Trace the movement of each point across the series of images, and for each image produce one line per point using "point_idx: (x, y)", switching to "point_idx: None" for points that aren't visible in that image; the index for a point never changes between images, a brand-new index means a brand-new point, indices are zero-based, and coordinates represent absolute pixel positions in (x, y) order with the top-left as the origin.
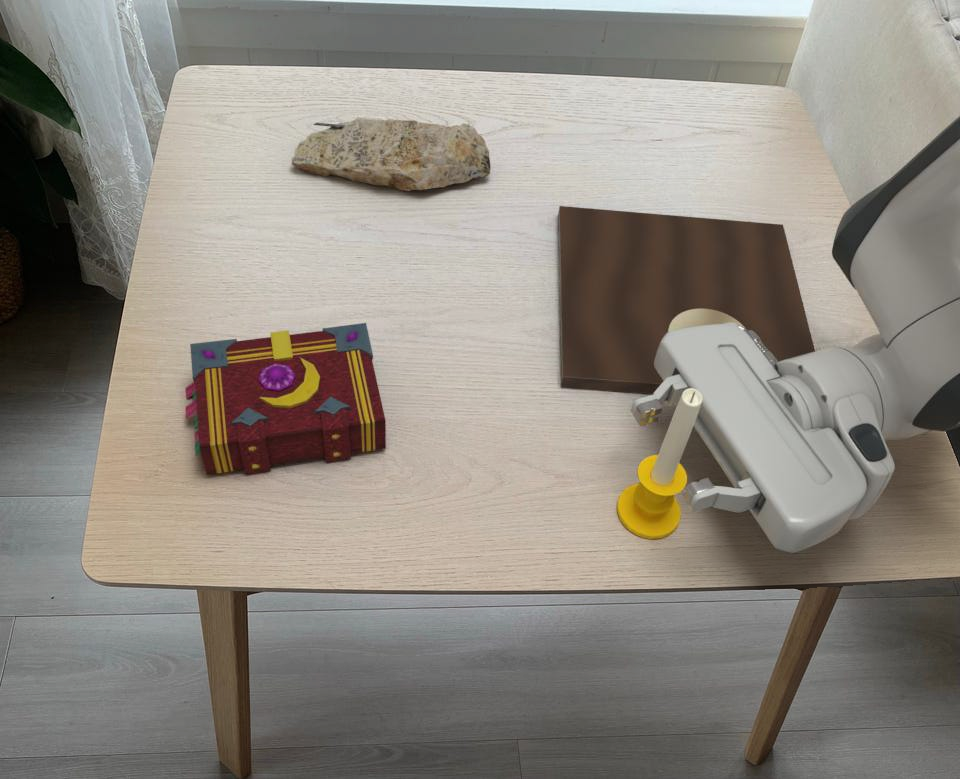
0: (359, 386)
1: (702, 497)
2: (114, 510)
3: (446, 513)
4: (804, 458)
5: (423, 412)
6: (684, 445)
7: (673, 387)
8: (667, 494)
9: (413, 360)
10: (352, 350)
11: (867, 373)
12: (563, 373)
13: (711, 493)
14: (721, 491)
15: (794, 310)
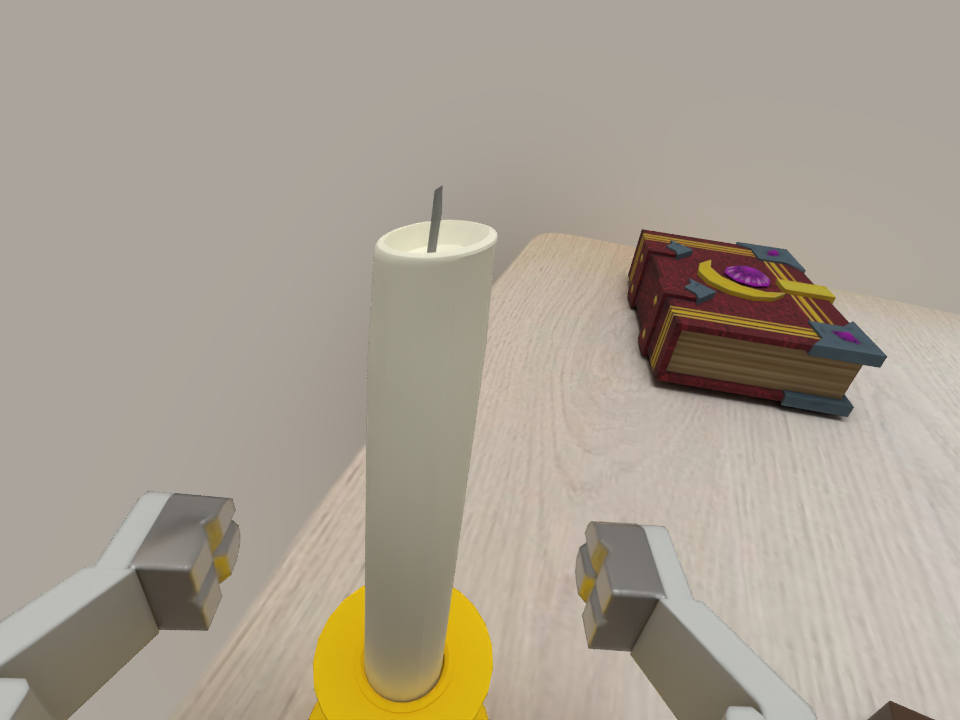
0: (742, 320)
1: (139, 502)
2: (600, 245)
3: (532, 407)
4: None
5: (734, 445)
6: (366, 514)
7: (742, 708)
8: (329, 626)
9: (857, 470)
10: (816, 333)
11: None
12: (904, 707)
13: (117, 536)
14: (83, 580)
15: None
